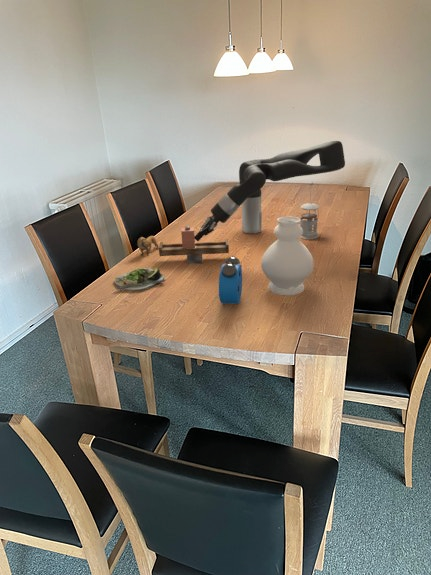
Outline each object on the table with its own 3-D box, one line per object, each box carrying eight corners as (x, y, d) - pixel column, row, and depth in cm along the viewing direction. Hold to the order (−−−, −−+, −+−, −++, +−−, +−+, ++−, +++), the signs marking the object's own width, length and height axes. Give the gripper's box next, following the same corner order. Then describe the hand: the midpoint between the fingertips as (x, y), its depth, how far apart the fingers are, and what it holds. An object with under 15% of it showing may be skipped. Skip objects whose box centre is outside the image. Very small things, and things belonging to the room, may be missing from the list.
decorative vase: (300, 303, 144) (304, 231, 133) (252, 292, 152) (252, 223, 141) (319, 282, 157) (324, 215, 146) (274, 273, 166) (275, 209, 155)
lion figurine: (148, 259, 184) (145, 239, 180) (136, 258, 185) (133, 238, 181) (161, 247, 196) (159, 228, 192) (150, 246, 198) (148, 227, 194)
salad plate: (128, 300, 151) (127, 288, 149) (102, 285, 163) (100, 273, 161) (172, 282, 163) (171, 271, 161) (145, 269, 175) (143, 259, 173)
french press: (293, 236, 203) (295, 182, 192) (306, 229, 210) (309, 177, 199) (311, 240, 196) (315, 185, 186) (324, 233, 204) (328, 180, 193)
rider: (195, 245, 180) (193, 225, 176) (195, 249, 176) (193, 228, 172) (183, 246, 180) (181, 225, 176) (182, 250, 176) (181, 229, 172)
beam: (228, 255, 184) (227, 239, 180) (229, 262, 177) (228, 244, 174) (162, 258, 184) (160, 242, 180) (160, 265, 177) (158, 248, 174)
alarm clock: (225, 292, 153) (224, 252, 146) (243, 293, 152) (242, 253, 145) (219, 310, 141) (217, 268, 135) (237, 311, 140) (237, 269, 134)
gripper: (233, 219, 166) (202, 250, 172) (231, 209, 178) (202, 239, 183) (218, 206, 164) (188, 238, 169) (217, 197, 176) (189, 228, 181)
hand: (196, 239), depth 176 cm, fingers closed
